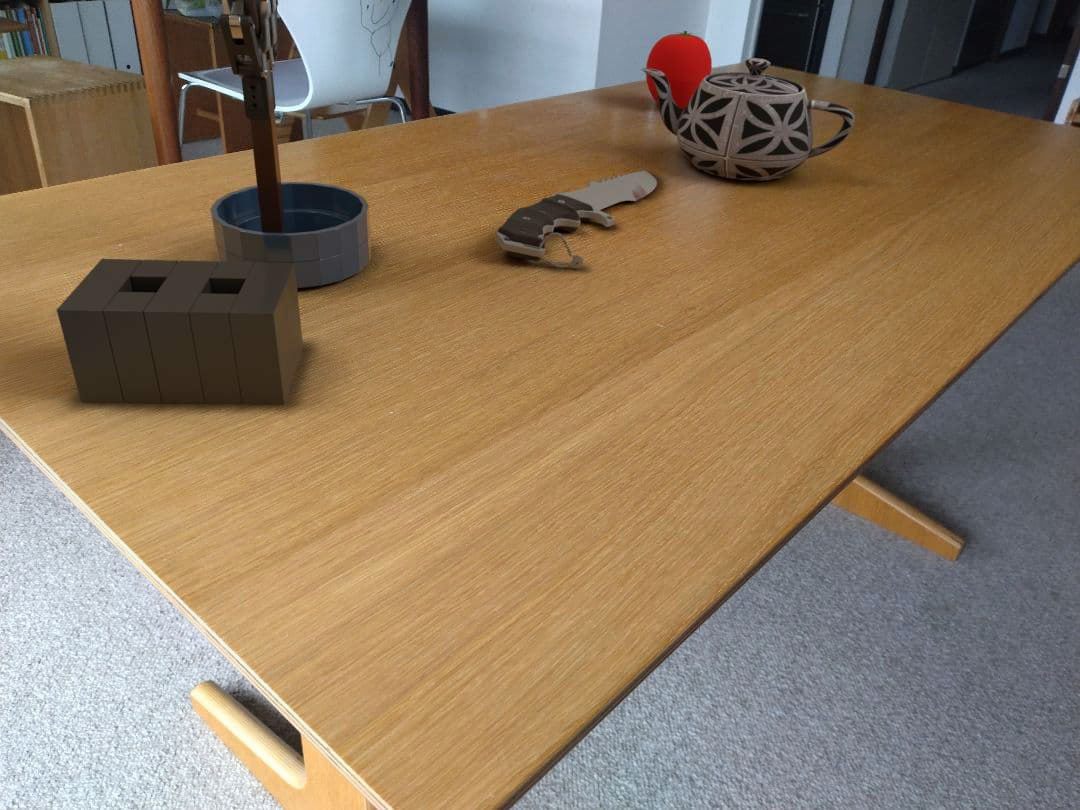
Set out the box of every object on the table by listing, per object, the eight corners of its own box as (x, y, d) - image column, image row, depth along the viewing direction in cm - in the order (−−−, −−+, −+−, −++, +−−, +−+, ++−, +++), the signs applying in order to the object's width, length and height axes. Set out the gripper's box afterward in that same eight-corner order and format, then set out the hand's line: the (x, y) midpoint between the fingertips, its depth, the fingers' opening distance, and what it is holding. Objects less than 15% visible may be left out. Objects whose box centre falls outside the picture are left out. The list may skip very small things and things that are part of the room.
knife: (590, 168, 123) (592, 138, 121) (662, 180, 120) (666, 150, 118) (483, 260, 94) (483, 223, 92) (574, 279, 91) (577, 241, 89)
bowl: (202, 292, 84) (192, 232, 81) (238, 232, 97) (230, 179, 94) (363, 295, 85) (359, 237, 82) (377, 236, 98) (374, 184, 95)
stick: (263, 246, 90) (243, 61, 80) (267, 238, 92) (247, 57, 82) (283, 246, 90) (265, 63, 81) (286, 239, 92) (269, 58, 82)
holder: (81, 403, 67) (55, 309, 63) (121, 345, 75) (101, 258, 70) (284, 406, 68) (273, 313, 64) (303, 348, 76) (294, 262, 72)
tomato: (670, 119, 149) (680, 39, 142) (630, 104, 156) (638, 27, 149) (718, 113, 154) (731, 35, 147) (678, 98, 162) (688, 24, 155)
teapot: (649, 135, 140) (661, 34, 132) (846, 167, 131) (872, 61, 123) (611, 166, 125) (622, 55, 117) (831, 205, 116) (859, 87, 108)
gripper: (214, -100, 80) (237, 96, 89) (171, -90, 69) (202, 133, 78) (298, -94, 81) (311, 99, 90) (269, -84, 69) (289, 137, 78)
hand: (261, 114), depth 84 cm, fingers closed on stick, 2 cm apart
